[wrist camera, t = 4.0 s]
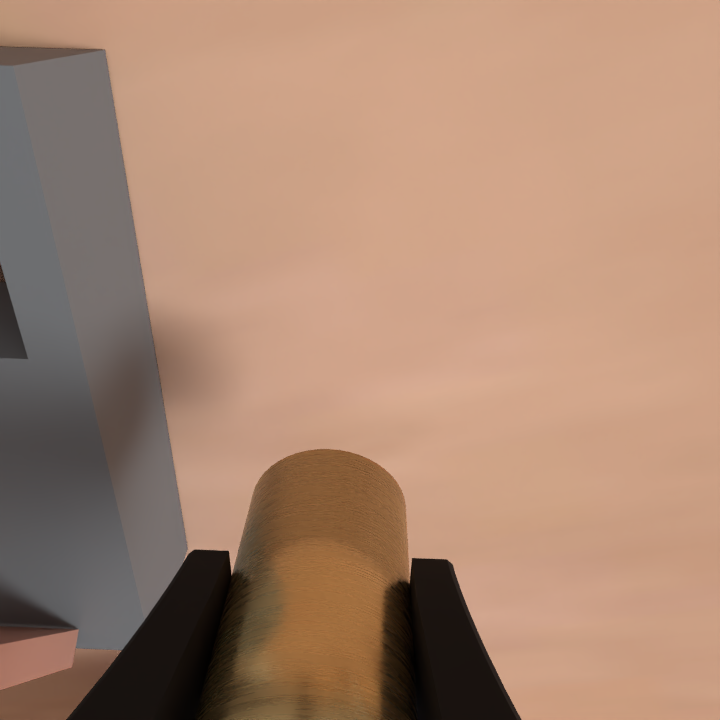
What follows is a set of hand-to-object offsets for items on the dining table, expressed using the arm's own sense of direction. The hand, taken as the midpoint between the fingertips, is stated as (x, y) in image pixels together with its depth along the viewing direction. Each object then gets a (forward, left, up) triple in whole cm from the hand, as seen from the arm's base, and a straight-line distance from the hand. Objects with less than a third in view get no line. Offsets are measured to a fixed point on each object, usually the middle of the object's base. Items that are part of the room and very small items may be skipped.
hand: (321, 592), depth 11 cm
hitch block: (-5, +7, -8) cm, 12 cm away
